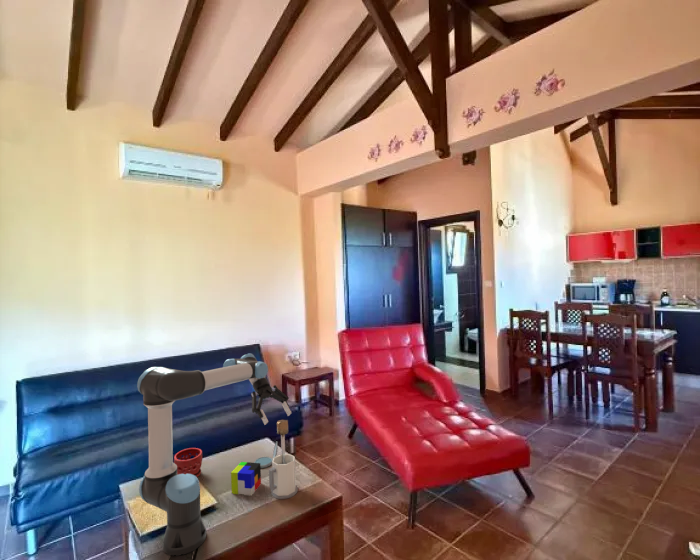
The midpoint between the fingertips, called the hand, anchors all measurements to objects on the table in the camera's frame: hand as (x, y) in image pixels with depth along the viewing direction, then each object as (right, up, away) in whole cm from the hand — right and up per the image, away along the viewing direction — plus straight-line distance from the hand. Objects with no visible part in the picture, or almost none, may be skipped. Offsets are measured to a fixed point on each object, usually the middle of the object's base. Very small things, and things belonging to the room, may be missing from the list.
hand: (278, 418), depth 178 cm
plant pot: (-47, -34, +12) cm, 60 cm away
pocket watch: (-12, -33, +23) cm, 42 cm away
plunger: (+3, -22, -4) cm, 22 cm away
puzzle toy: (-15, -33, 0) cm, 36 cm away
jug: (+4, -32, -3) cm, 33 cm away
